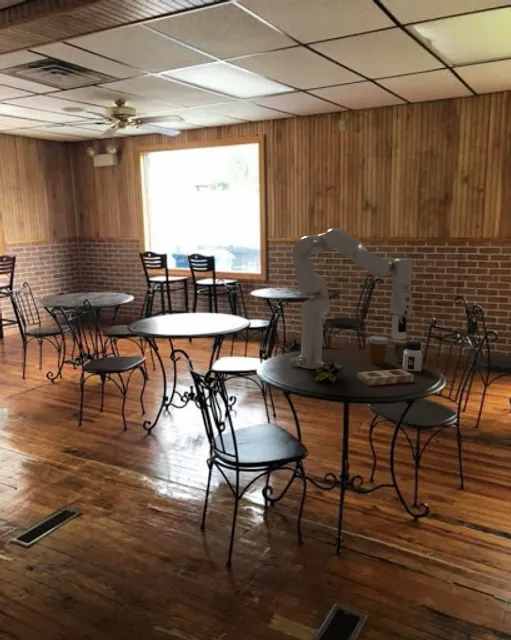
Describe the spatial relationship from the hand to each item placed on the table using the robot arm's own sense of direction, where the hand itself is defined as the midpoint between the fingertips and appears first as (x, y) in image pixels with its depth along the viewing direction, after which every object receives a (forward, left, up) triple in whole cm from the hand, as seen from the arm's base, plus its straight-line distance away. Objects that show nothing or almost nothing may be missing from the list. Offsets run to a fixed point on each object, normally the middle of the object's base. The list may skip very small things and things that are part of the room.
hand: (398, 330), depth 226 cm
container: (+17, +13, -22) cm, 30 cm away
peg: (0, 0, -3) cm, 3 cm away
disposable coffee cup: (+7, +27, -22) cm, 35 cm away
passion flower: (-29, +4, -22) cm, 37 cm away
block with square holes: (-5, 0, -22) cm, 22 cm away
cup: (+19, +25, -22) cm, 38 cm away
